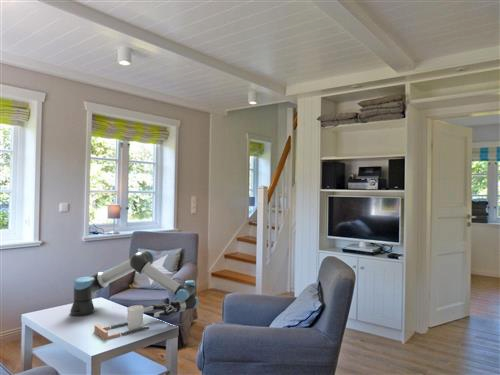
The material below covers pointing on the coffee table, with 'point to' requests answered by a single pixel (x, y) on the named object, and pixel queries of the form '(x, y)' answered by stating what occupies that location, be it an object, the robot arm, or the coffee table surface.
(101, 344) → the coffee table surface
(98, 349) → the coffee table surface
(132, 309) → the candle holder
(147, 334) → the coffee table surface
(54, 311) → the coffee table surface
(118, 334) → the orange u-shaped bracket
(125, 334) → the guide rails
